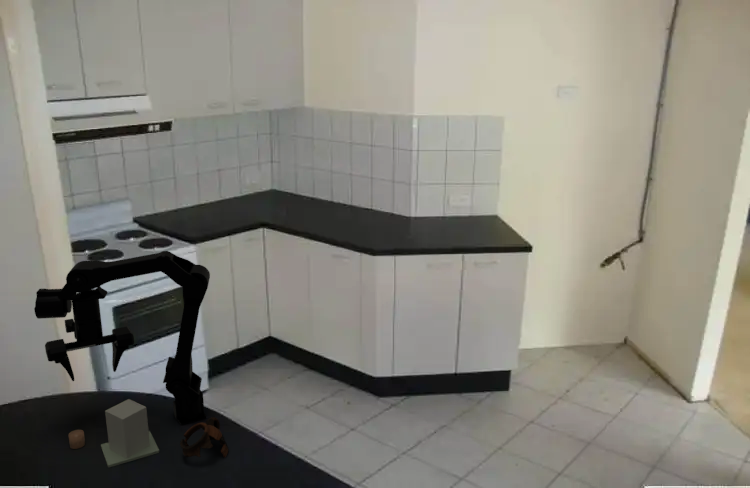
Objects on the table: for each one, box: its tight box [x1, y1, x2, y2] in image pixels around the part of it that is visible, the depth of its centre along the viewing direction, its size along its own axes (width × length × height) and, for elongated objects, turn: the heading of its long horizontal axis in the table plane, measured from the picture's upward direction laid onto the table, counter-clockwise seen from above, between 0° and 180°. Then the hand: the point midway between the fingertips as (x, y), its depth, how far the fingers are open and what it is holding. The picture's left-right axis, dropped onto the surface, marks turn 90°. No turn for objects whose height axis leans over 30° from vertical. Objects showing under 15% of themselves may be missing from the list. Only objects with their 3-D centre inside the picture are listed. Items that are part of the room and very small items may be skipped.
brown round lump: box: [68, 429, 86, 450], centre depth 146 cm, size 3×3×3 cm
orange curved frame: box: [179, 416, 229, 458], centre depth 145 cm, size 12×10×8 cm
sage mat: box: [100, 430, 160, 468], centre depth 145 cm, size 11×9×1 cm
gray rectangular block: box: [104, 398, 150, 459], centre depth 144 cm, size 6×6×10 cm
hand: (94, 375), depth 152 cm, fingers open, 9 cm apart
